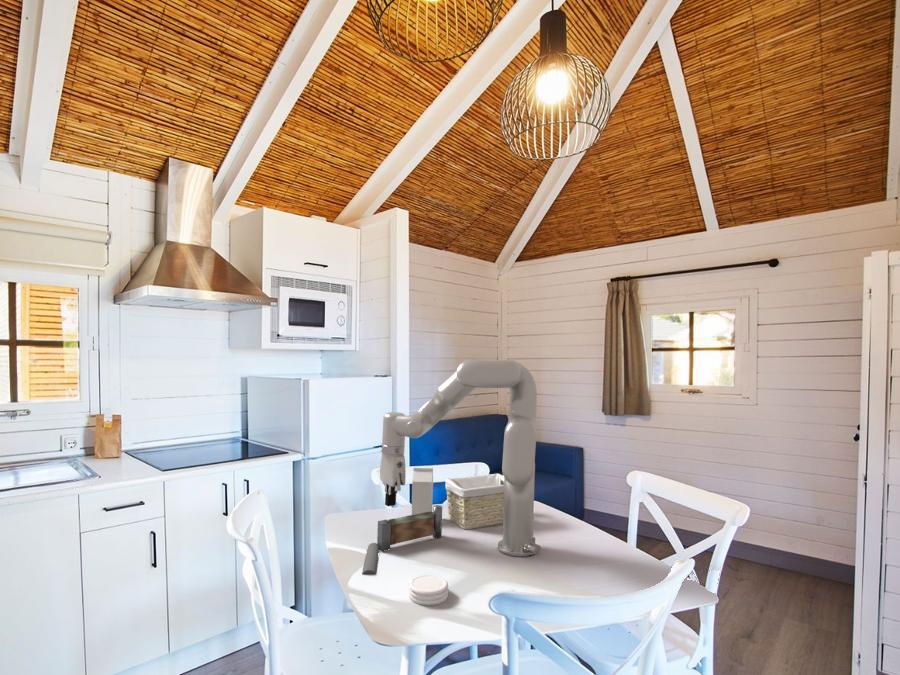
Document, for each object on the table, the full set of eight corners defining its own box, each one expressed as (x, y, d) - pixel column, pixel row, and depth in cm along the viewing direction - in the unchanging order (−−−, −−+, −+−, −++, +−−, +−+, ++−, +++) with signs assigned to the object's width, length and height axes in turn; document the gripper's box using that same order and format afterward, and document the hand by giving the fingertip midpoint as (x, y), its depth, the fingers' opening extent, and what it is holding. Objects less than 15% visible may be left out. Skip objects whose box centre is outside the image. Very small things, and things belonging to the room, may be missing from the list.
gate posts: (443, 537, 167) (444, 507, 167) (381, 551, 153) (382, 519, 154) (438, 534, 169) (439, 504, 169) (377, 548, 156) (378, 516, 156)
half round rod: (380, 548, 158) (380, 542, 158) (376, 576, 138) (376, 569, 138) (367, 548, 157) (367, 542, 157) (361, 576, 138) (361, 570, 138)
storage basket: (461, 532, 172) (462, 489, 172) (442, 517, 187) (443, 477, 187) (520, 523, 182) (521, 482, 182) (498, 510, 197) (499, 472, 197)
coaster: (449, 606, 122) (449, 591, 122) (408, 607, 122) (409, 592, 122) (446, 586, 132) (446, 573, 132) (408, 587, 131) (409, 573, 132)
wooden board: (430, 533, 167) (431, 511, 167) (433, 535, 165) (434, 512, 165) (387, 543, 157) (388, 519, 158) (391, 545, 156) (391, 521, 156)
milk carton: (431, 524, 179) (432, 470, 179) (411, 523, 179) (412, 470, 179) (432, 517, 186) (433, 466, 186) (413, 516, 186) (414, 465, 186)
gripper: (414, 453, 163) (411, 510, 162) (392, 444, 175) (389, 497, 175) (394, 455, 158) (391, 513, 158) (372, 446, 171) (370, 500, 170)
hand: (390, 505), depth 166 cm, fingers closed
